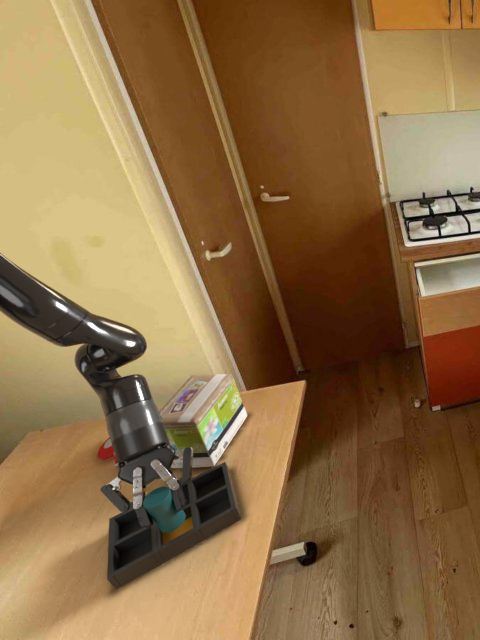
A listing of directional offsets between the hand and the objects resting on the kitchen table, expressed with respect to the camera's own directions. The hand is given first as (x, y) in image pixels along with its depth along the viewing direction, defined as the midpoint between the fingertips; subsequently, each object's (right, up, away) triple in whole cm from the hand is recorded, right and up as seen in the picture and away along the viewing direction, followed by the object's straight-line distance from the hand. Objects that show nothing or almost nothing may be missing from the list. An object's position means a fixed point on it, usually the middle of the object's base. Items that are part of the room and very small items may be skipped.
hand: (165, 517), depth 77 cm
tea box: (-9, +3, +25) cm, 27 cm away
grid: (-3, -6, +7) cm, 10 cm away
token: (-1, -3, +3) cm, 5 cm away
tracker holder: (-29, +2, +22) cm, 36 cm away
